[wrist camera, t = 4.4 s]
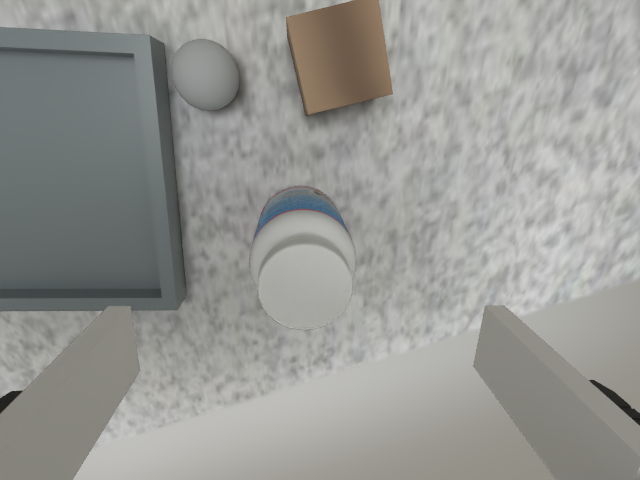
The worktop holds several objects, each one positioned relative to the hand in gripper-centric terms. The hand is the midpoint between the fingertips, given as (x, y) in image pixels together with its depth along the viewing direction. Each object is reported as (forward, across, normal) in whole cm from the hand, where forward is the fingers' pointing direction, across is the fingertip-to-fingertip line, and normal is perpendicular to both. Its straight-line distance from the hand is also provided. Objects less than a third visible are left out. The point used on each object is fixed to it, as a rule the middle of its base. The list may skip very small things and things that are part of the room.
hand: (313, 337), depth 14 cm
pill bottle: (+15, 0, 0) cm, 15 cm away
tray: (+15, -18, +3) cm, 24 cm away
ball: (+15, -6, +10) cm, 19 cm away
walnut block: (+15, +2, +11) cm, 19 cm away
